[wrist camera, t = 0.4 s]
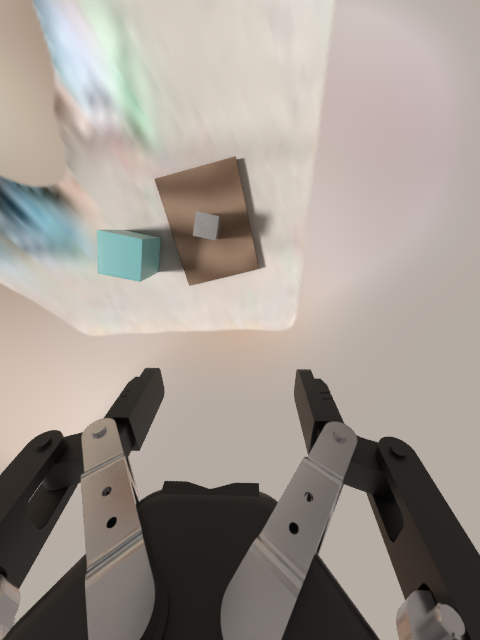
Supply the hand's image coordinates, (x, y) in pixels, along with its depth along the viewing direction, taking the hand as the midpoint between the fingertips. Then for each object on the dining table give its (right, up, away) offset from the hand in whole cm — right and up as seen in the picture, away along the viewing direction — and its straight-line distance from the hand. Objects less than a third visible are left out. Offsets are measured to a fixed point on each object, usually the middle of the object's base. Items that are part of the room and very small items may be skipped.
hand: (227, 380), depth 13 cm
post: (-4, +18, +22) cm, 28 cm away
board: (-4, +18, +23) cm, 30 cm away
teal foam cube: (-15, +15, +24) cm, 32 cm away
